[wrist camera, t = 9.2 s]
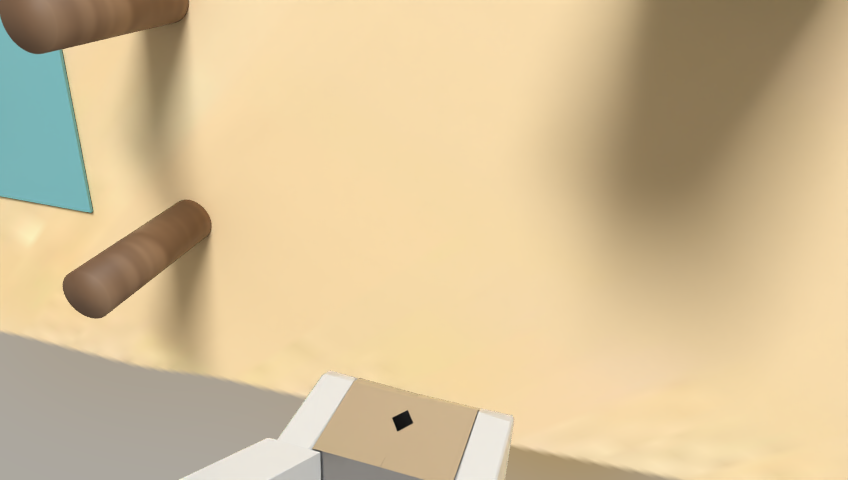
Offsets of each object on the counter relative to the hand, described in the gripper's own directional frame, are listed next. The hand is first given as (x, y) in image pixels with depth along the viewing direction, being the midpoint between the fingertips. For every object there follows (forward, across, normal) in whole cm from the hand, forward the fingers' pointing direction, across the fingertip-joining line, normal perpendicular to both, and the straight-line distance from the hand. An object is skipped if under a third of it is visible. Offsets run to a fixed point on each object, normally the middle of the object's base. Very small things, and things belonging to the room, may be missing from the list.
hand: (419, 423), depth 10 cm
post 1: (+22, +21, -2) cm, 31 cm away
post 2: (+22, +21, +11) cm, 32 cm away
